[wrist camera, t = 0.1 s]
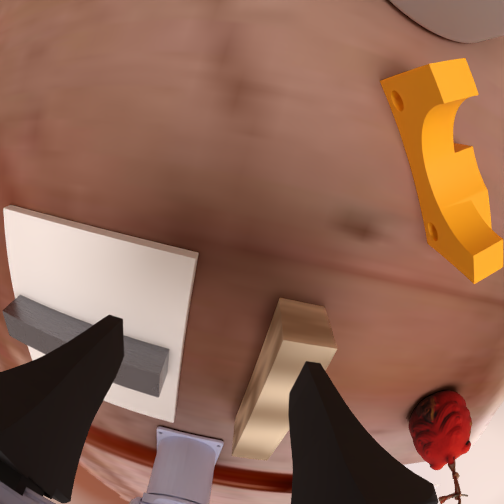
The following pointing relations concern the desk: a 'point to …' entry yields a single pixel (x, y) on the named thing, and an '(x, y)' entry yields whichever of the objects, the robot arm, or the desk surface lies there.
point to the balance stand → (102, 300)
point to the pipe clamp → (445, 165)
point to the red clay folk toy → (442, 432)
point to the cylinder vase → (457, 18)
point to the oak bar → (280, 375)
